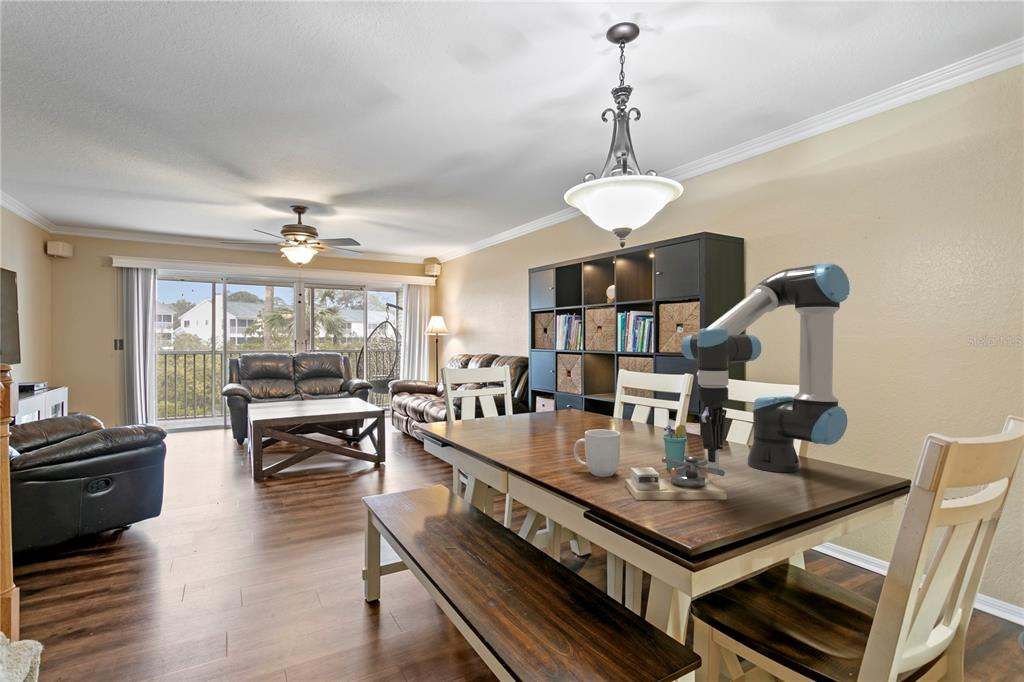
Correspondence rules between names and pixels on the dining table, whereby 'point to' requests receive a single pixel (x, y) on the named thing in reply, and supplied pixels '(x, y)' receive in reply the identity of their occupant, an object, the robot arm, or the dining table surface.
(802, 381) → the robot arm
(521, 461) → the dining table surface
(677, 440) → the teal pot with plants
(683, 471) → the capstan
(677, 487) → the stand
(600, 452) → the mug
